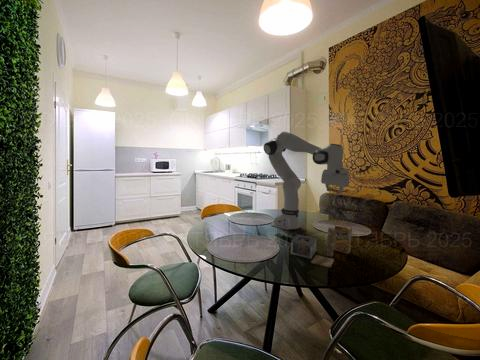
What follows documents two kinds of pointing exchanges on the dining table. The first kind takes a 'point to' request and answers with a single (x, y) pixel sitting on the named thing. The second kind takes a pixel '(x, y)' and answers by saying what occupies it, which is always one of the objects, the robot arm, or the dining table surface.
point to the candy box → (342, 238)
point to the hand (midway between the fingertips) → (333, 192)
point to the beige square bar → (330, 241)
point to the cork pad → (322, 261)
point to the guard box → (297, 241)
